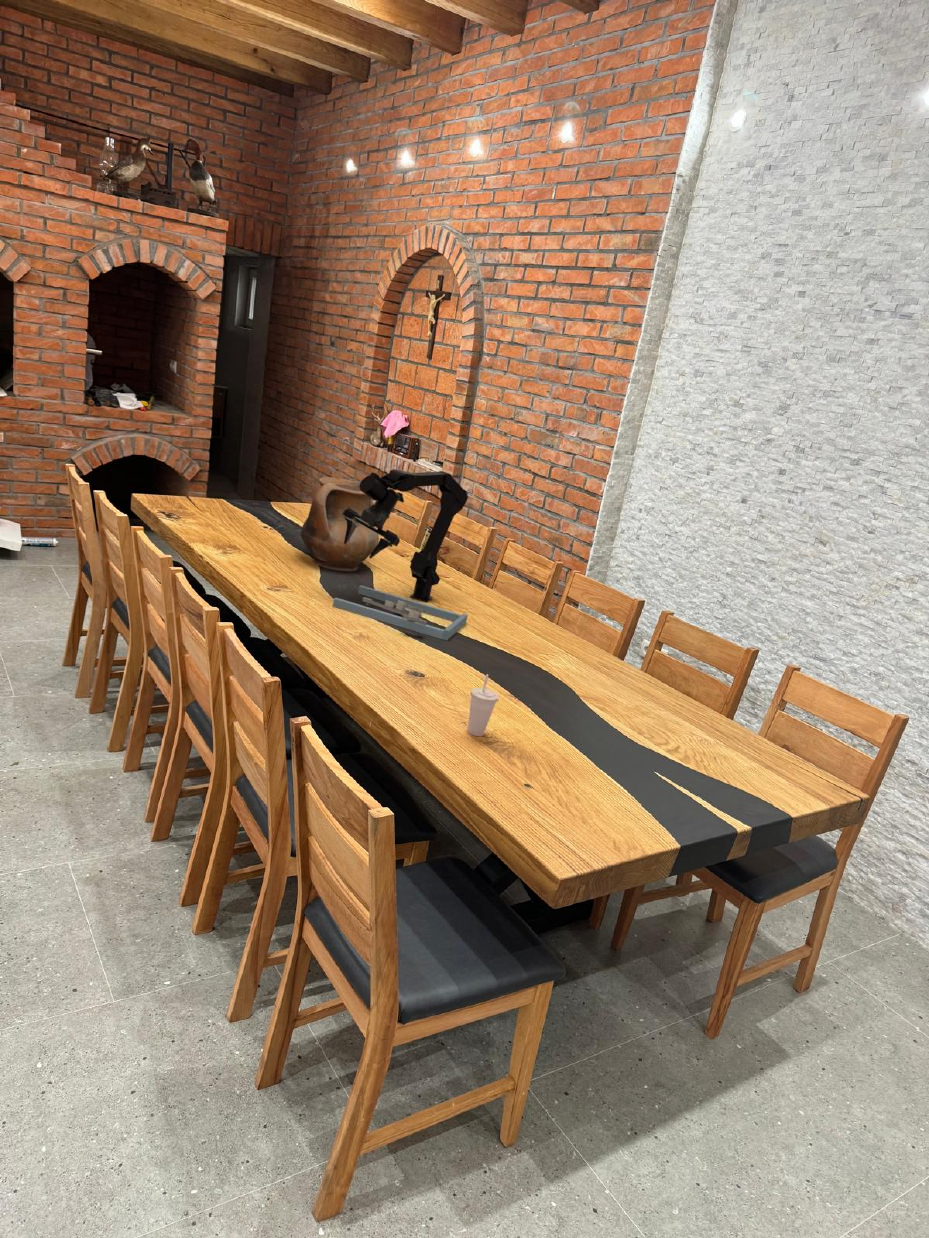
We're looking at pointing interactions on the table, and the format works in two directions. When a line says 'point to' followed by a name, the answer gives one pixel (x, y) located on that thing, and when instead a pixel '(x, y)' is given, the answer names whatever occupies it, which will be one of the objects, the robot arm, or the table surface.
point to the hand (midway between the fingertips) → (357, 551)
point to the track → (400, 621)
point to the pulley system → (410, 611)
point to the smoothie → (481, 709)
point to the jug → (338, 526)
